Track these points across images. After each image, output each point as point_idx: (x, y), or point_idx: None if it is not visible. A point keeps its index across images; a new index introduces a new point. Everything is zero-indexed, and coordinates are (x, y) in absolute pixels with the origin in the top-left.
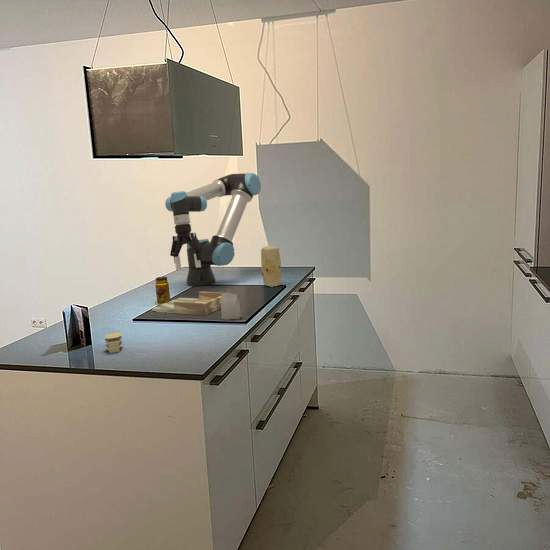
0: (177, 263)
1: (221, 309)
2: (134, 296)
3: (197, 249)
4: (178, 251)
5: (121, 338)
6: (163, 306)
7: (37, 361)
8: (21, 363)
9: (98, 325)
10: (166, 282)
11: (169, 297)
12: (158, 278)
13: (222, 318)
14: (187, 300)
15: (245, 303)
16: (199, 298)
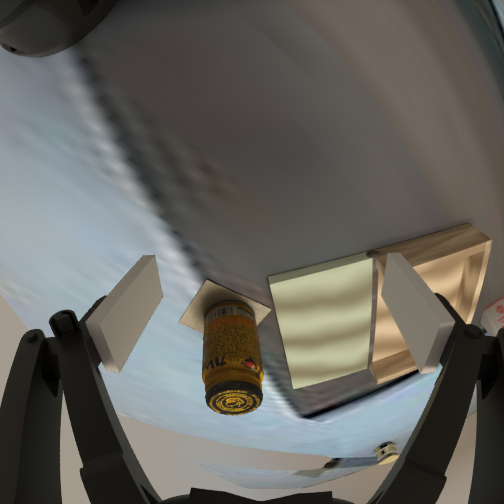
0: (141, 318)
1: (491, 335)
2: (43, 304)
3: (481, 389)
4: (102, 391)
5: (395, 451)
6: (313, 369)
7: (326, 478)
8: (315, 483)
9: (268, 447)
10: (258, 377)
11: (254, 323)
12: (240, 413)
13: (482, 323)
14: (339, 296)
15: (495, 198)
16: (378, 268)
